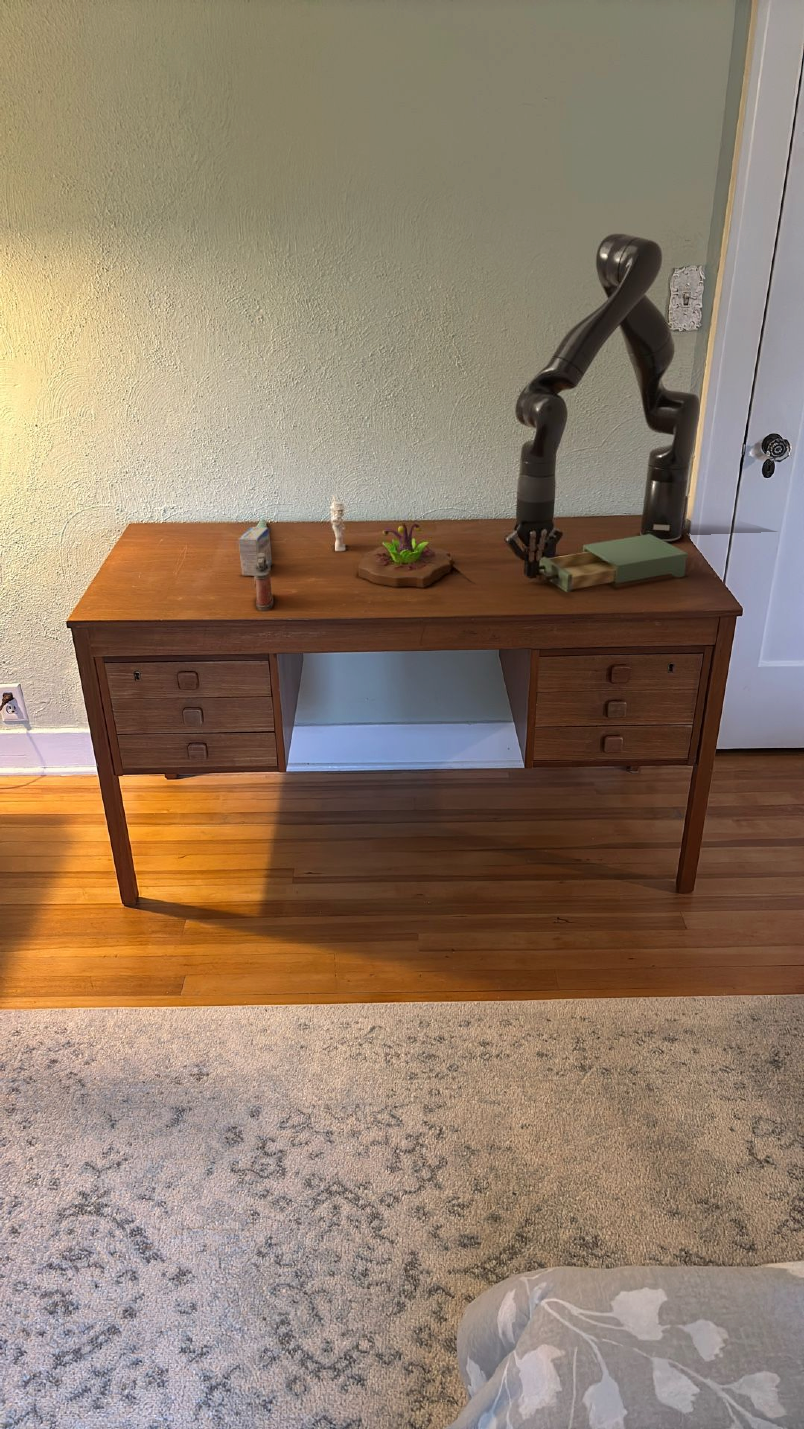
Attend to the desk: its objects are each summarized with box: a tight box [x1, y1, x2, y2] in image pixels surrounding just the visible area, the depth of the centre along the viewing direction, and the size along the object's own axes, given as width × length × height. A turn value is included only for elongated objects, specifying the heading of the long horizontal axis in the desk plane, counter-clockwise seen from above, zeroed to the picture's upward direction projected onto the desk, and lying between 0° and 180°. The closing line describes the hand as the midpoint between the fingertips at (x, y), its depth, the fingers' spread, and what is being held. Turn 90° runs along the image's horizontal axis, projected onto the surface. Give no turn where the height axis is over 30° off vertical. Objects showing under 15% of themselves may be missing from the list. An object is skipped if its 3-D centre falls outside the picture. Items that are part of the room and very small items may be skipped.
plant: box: [357, 523, 453, 589], centre depth 212 cm, size 20×20×11 cm
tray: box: [537, 551, 616, 593], centre depth 206 cm, size 21×14×4 cm, turn 112°
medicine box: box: [238, 526, 273, 577], centre depth 214 cm, size 8×4×9 cm, turn 168°
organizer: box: [582, 534, 688, 584], centre depth 211 cm, size 17×14×5 cm
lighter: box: [253, 553, 274, 611], centre depth 198 cm, size 8×3×10 cm, turn 5°
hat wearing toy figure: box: [329, 495, 347, 552], centre depth 225 cm, size 9×4×12 cm, turn 1°
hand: (531, 577), depth 203 cm, fingers closed
